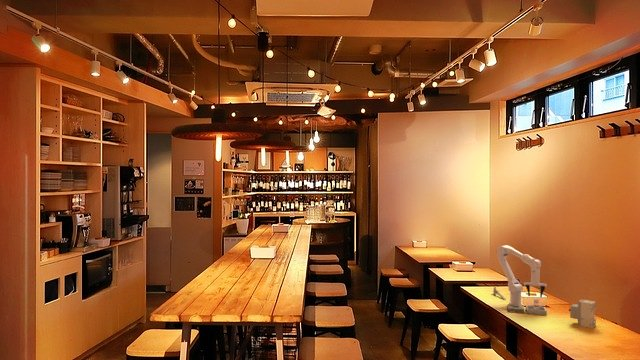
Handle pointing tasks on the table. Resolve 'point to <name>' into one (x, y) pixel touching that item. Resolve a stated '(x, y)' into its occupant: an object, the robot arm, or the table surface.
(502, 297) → the caliper
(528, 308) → the parts tray
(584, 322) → the circuit breaker
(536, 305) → the fuse
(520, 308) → the fuse holder
